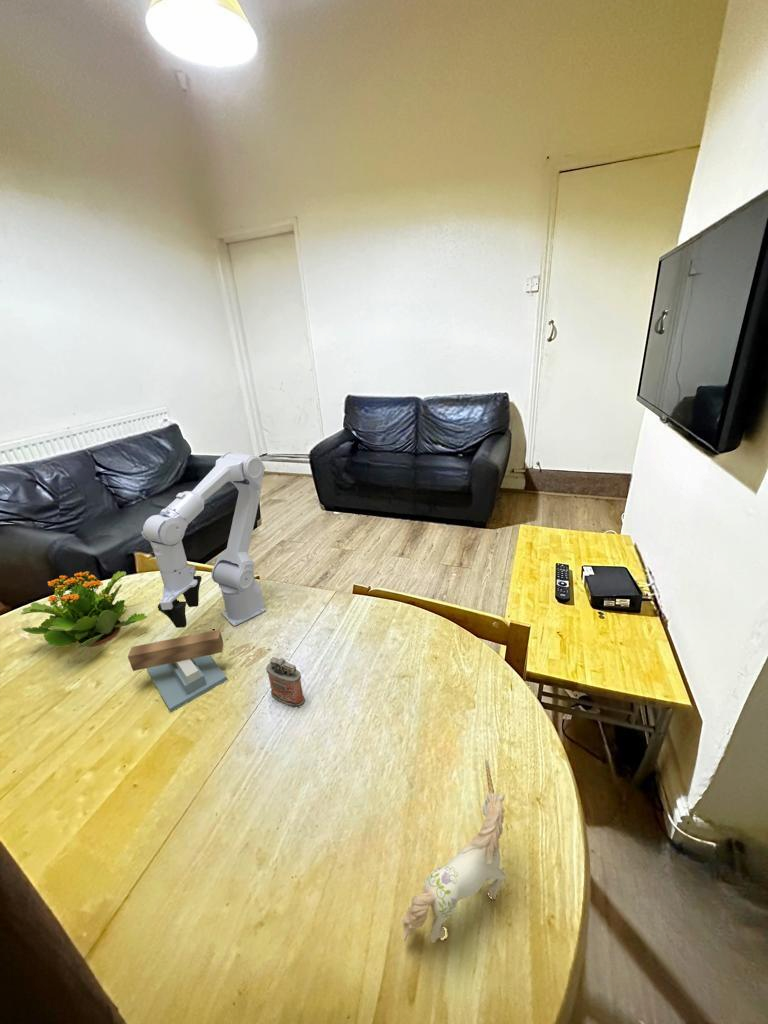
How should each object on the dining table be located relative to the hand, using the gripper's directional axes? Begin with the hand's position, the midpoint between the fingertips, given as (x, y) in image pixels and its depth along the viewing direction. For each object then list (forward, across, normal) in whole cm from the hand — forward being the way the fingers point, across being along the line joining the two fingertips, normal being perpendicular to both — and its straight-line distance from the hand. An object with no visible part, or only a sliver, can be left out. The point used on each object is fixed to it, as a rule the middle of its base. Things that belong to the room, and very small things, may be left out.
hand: (187, 615), depth 97 cm
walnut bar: (+4, -9, -1) cm, 10 cm away
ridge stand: (+10, -9, -1) cm, 13 cm away
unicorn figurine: (+10, -50, -53) cm, 73 cm away
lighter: (+10, -17, -25) cm, 32 cm away
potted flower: (+10, +7, +27) cm, 30 cm away
